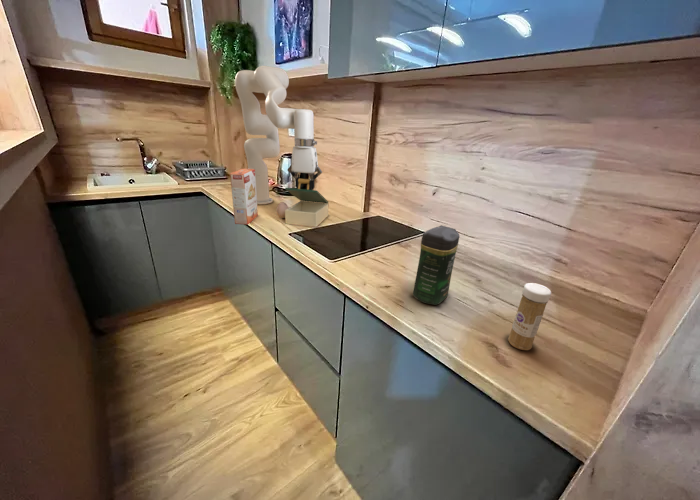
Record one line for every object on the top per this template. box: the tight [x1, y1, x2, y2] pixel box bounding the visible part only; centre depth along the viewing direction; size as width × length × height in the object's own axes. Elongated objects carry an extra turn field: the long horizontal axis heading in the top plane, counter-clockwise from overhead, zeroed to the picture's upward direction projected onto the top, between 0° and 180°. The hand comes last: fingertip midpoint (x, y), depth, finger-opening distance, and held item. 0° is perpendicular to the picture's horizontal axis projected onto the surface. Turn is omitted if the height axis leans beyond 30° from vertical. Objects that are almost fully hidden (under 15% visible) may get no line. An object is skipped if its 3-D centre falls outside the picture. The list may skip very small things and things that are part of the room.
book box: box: [284, 200, 329, 228], centre depth 134 cm, size 18×14×6 cm
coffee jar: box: [412, 225, 460, 306], centre depth 76 cm, size 10×8×19 cm
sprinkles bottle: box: [507, 282, 552, 351], centre depth 60 cm, size 5×5×14 cm
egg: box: [276, 201, 289, 219], centre depth 134 cm, size 5×5×7 cm
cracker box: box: [229, 168, 259, 226], centre depth 127 cm, size 14×6×21 cm, turn 179°
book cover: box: [284, 177, 329, 204], centre depth 132 cm, size 18×14×6 cm
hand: (304, 188), depth 127 cm, fingers closed on book cover, 5 cm apart
